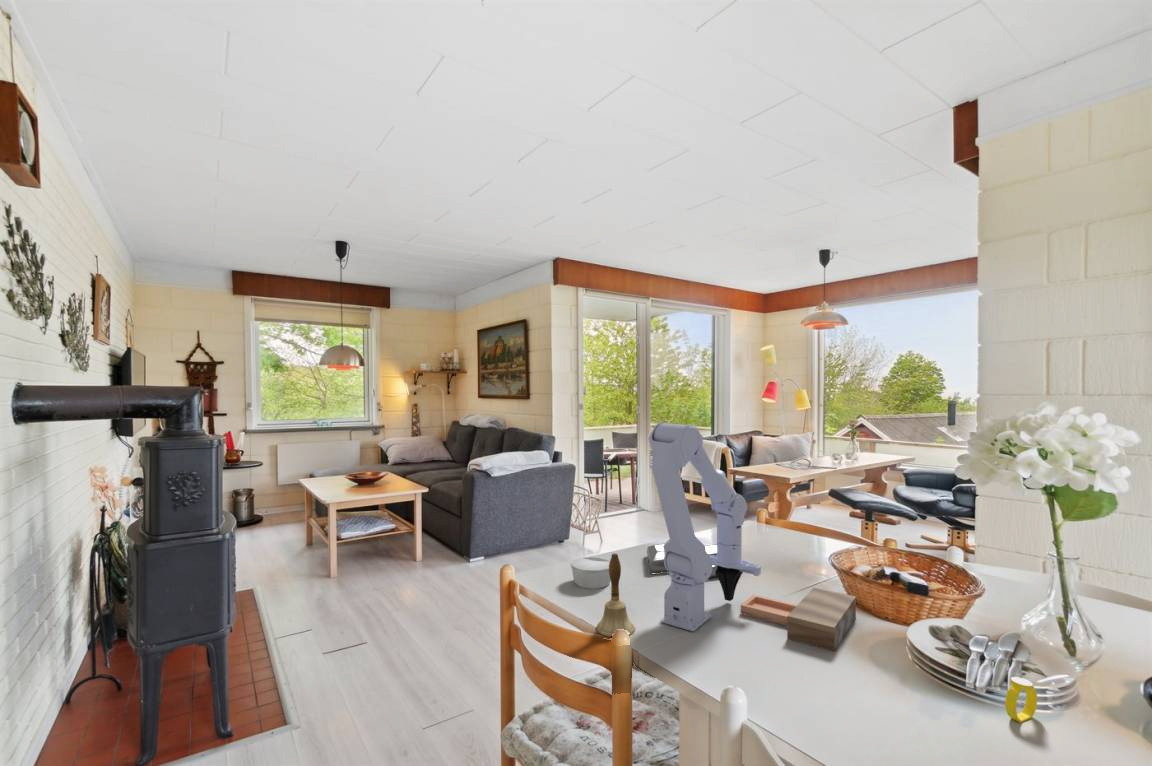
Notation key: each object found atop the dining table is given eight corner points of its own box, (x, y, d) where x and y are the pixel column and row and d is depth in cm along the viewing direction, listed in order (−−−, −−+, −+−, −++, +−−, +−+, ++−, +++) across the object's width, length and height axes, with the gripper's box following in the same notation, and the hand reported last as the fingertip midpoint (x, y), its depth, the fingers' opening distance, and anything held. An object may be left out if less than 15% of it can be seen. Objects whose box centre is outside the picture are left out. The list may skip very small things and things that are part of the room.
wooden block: (834, 651, 108) (834, 627, 108) (787, 638, 114) (787, 615, 114) (855, 617, 124) (855, 596, 124) (813, 607, 130) (813, 587, 130)
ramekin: (614, 576, 151) (614, 557, 151) (613, 591, 140) (613, 571, 139) (573, 575, 152) (573, 555, 152) (568, 590, 141) (568, 569, 141)
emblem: (670, 529, 180) (754, 545, 163) (670, 546, 180) (754, 563, 163) (623, 550, 157) (716, 570, 140) (623, 569, 157) (716, 591, 140)
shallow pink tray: (795, 628, 119) (795, 618, 119) (740, 613, 126) (740, 605, 126) (805, 615, 125) (805, 606, 125) (753, 602, 132) (753, 594, 132)
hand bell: (588, 631, 117) (588, 556, 117) (608, 617, 124) (608, 546, 124) (623, 641, 113) (623, 563, 113) (641, 626, 119) (641, 552, 119)
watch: (1021, 711, 89) (1023, 673, 90) (1041, 720, 87) (1043, 682, 87) (999, 717, 87) (1001, 679, 87) (1019, 727, 84) (1021, 688, 85)
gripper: (765, 543, 131) (765, 601, 131) (707, 533, 140) (707, 587, 140) (754, 551, 125) (754, 611, 125) (695, 539, 134) (695, 595, 134)
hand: (729, 599), depth 132 cm, fingers closed
